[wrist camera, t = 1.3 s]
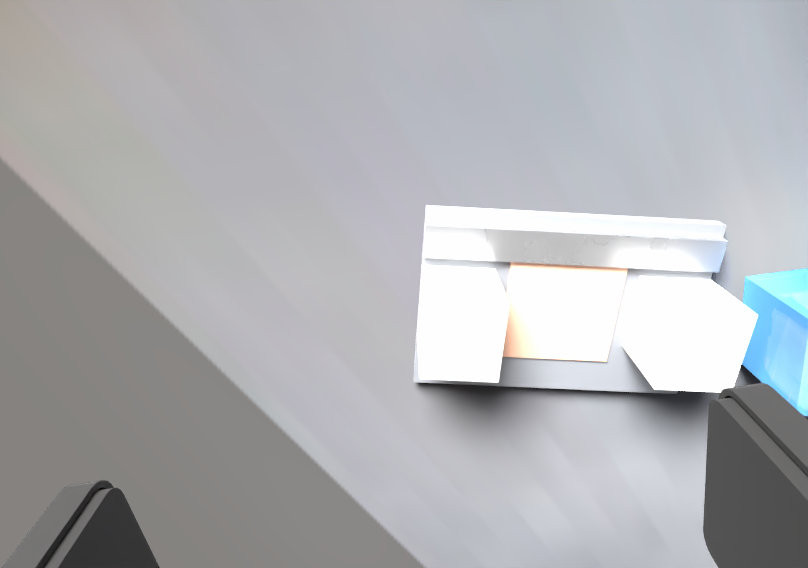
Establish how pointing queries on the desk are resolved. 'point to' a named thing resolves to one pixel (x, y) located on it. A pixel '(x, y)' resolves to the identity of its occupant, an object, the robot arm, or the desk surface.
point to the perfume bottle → (780, 333)
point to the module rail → (576, 302)
